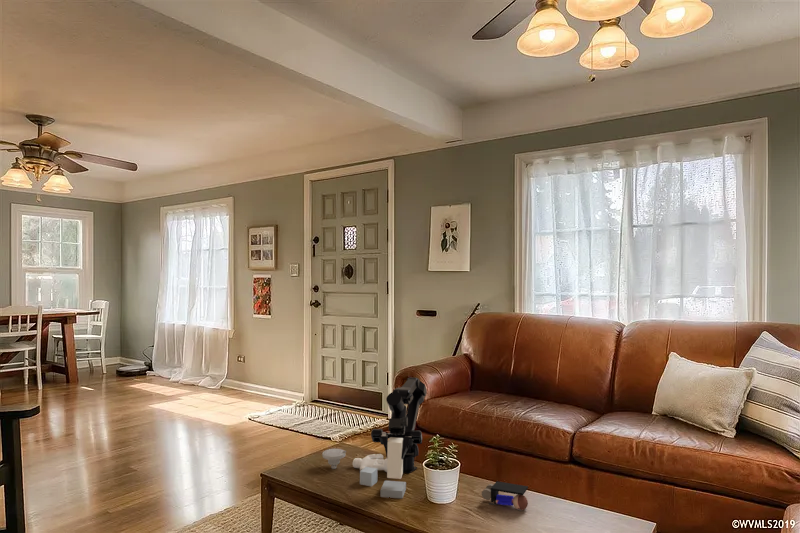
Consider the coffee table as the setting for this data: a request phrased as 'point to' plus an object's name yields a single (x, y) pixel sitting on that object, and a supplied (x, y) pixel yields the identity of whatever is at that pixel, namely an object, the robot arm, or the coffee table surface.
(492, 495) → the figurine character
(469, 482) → the coffee table surface
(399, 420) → the robot arm
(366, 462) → the figure
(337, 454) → the showerhead
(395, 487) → the plinth
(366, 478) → the cube
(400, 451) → the pillar
